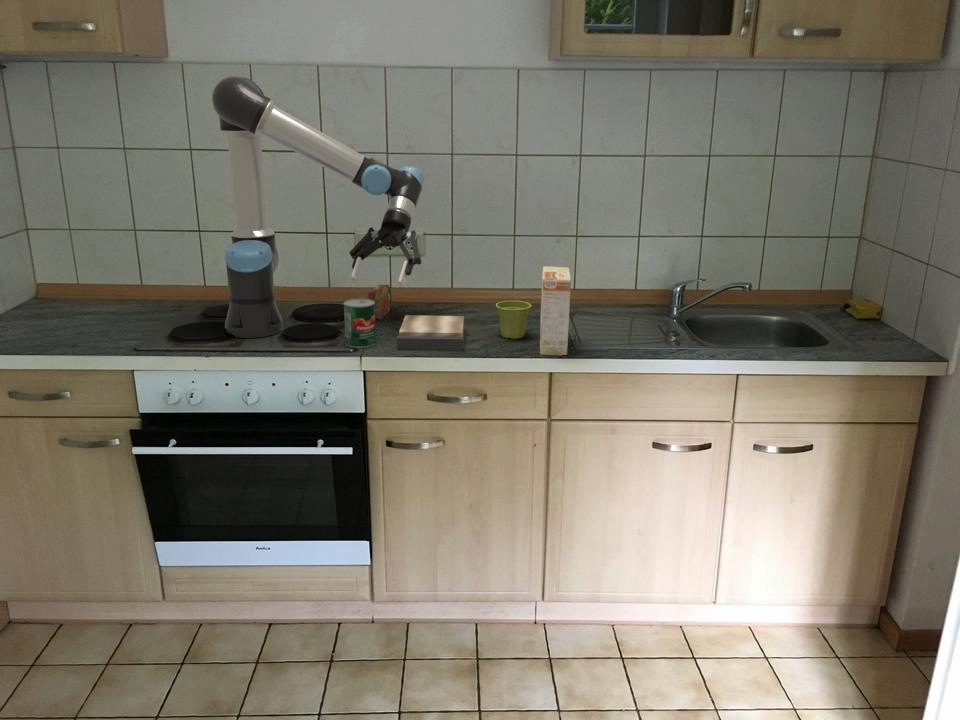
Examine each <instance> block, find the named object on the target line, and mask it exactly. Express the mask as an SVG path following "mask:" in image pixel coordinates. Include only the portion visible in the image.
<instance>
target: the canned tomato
mask: <svg viewBox="0 0 960 720" xmlns="http://www.w3.org/2000/svg"><path fill="white" fill-rule="evenodd" d="M343 310H344V312H343V315H344V316H343V317H344V318H343V319H344V337H345V338H344V340H345V341H344V342H345V343H344V344H346V345H347V346H346V345H345V346H346V347H348V346H350V347H349V348H351V347H354V348H353V349H366V348H371V347H373V346H375V345H376V344H377V342H376V341H377V338H376V336H377V335H376V333H377V331H376V319H375V301H373V300H370V299H368V298H352V299H351V298H350V299H346V300H345V301H344V302H343Z"/></svg>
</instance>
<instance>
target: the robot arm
mask: <svg viewBox="0 0 960 720" xmlns="http://www.w3.org/2000/svg"><path fill="white" fill-rule="evenodd" d="M211 95H212V96H211V101H212V106H213V109H214V110H215V113H216V114H217V115H218V119H219V127H220V133H222V134H223V135H224V136H225V137H226V140H227V146H228V147H227V148H228V158H229V167H230V176H231V177H230V178H231V187H232V198H233V199H232V201H233V208H234V218H235V229H234V230H233V231H232V232H231V234H230V235H231V244H229V245H228V246H226V248H225V256H224V261H225V266H226V275H227V276H226V277H227V288H228V297H229V298H228V299H229V306H228V310H227V314H226V318H225V322H224V329H225V328H226V329H227V330H228V331H229V332H231V333H232V334H233V335H234V336H235V337H234V338H245V339H253V338H263V337H270V336H274V335H277V334H279V333H282V332H283V330H284V321H283V318H282V315H281V313H280V311H279V308H278V306H277V303H276V298H275V286H274V273H275V272H276V269H277V267H278V265H279V252H278V250H277V245H276V236H275V235H276V234H275V231H274V230H273V229H271V227H270V226H269V220H268V208H267V198H266V197H267V196H266V183H265V171H264V161H263V152H262V151H263V150H262V149H263V148H262V139H261V138H262V136H263V135H264V136H265V137H267V138H269V139H271V140H273V141H275V142H277V143H278V144H280V145H282V146H285V147H286V148H288V149H290V150H291V151H293V152H295V153H297V154H299V155H301V156H303V157H304V158H307V160H308V159H309V160H310V161H312V162H313V163H316V164H318V165H319V166H321V167H323V168H325V169H327V170H329V171H331V172H332V173H334V174H336V175H338V176H340V177H341V178H344V179H346V180H347V181H349V182H351V183H353V184H354V185H355V186H357V187H360V188H361V189H364V191H365V192H366V193H368V194H370V195H372V196H380V195H383V194H384V195H386V196H389V197H390V198H389V201H388V204H387V207H386V210H385V213H384V214H383V215H384V216H383V219H382V222H381V226H380V228H379V229H374V227H372V226H371V227H369V228H368V230H367V231H366V234H365V235H364V236H363V237H362V238H361V239H360V240H359V241H358V243H356V244H355V245H354V246H353V247H352V248H351V250H350V251H349V255H350V257H351V258H352V260H353V262H352V265H351V268H352V272H351V276H350V278H351V280H352V281H353V283H354V284H357V283H358V280H359V278H360V275H361V272H362V269H363V266H364V263H365V262H364V259H366V258H368V257H369V256H370V255H372V254H373V253H374V252H376V251H377V250H379V249H382V248H383V247H386V248H389V247H391V248H396V247H399V248H400V250H401V252H402V253H403V255H404V257H405V258H406V260H404V261H403V265H402V268H401V271H400V275H399V277H398V281H397V282H398V283H399V285H400V288H404V287H405V284H406V281H407V278H408V276H410V275H412V271H413V269H414V266H415V265H421V264H422V259H421V254H420V249H419V246H418V239H419V238H418V237H419V236H418V235H417V231H416V230H414V229H413V230H411V232H410V228H411V225H412V220H413V217H414V214H415V211H416V207H417V204H418V201H419V199H420V196H421V192H422V190H423V185H424V180H425V178H424V174H423V172H422V171H421V170H420V169H418V168H416V167H414V166H409V165H406V166H405V165H404V166H402V167H400V169H396V168H393V167H391V166H390V165H387V164H385V163H383V162H380V160H376V159H374V158H373V157H369V156H367V155H366V154H365V155H364V154H361V153H359V152H358V151H356V150H354V149H353V148H351V147H348V146H347V145H346V144H345V143H344V144H343V143H342V142H340V141H338V140H336V139H334V138H332V137H331V136H330V135H327V134H325V133H323V132H322V131H320V130H318V129H316V128H314V127H313V126H311V125H310V124H308V123H306V122H304V121H302V120H300V119H299V118H297V117H295V116H294V115H292V114H290V113H288V112H286V111H284V110H282V109H281V108H279V107H277V106H276V105H275V103H274V101H273V99H271V98H269V97H267V96H266V95H265V94H264V92H263V90H262V89H261V87H260V86H259V85H258V84H257V83H256V82H255V81H253V80H252V79H250V78H247V77H241V76H228V77H225V78H223V79H221V80H220V81H219V82H218V83H217V84H216V85H215V87H214V88H213V91H212V94H211ZM407 239H408V240H409V241H410V243H411V248H412V252H413V256H414V257H412V255H411V254H410V252H409V250H408V249H407V247H406V246H405V244H404V242H405V241H406V240H407Z"/></svg>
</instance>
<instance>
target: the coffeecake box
mask: <svg viewBox="0 0 960 720" xmlns="http://www.w3.org/2000/svg"><path fill="white" fill-rule="evenodd" d="M570 272H571V271H570V267H569V266H568V267H565V266H553V265H551V266H543V267H542V276H541V292H540V293H541V295H540V297H541V298H540V319H539V320H540V322H539V324H540V325H539V354H540V356H562V355H568V343H569V327H570V326H569V324H570V323H569V322H570V308H571V307H570V302H571V300H570V299H571V286H572V285H571V282H572V280H571V273H570Z"/></svg>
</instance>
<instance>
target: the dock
mask: <svg viewBox="0 0 960 720" xmlns="http://www.w3.org/2000/svg"><path fill="white" fill-rule="evenodd" d="M464 331H465V316H463V315H462V316H461V315H460V316H459V315H416V314H415V315H411V314H410V315H409V314H405V315H404V318H403V322H402V323H401V326H400V328H399V332H398V335H397V337H396V349H397V350H409V351H410V350H412V351H425V350H426V351H457V350H460V351H464Z"/></svg>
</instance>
